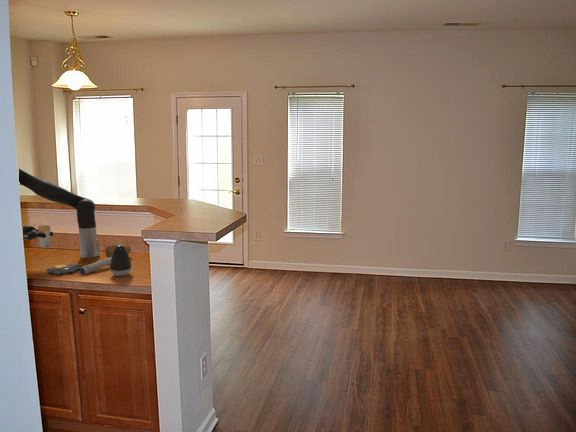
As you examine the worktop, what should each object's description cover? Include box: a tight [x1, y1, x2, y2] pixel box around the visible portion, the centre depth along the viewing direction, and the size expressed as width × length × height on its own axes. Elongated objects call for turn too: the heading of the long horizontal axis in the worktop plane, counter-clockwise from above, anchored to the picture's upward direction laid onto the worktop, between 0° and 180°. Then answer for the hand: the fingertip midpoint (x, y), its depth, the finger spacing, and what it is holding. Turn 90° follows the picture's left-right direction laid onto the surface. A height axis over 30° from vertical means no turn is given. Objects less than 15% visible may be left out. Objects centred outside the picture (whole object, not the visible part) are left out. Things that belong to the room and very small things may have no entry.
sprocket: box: [46, 263, 83, 277], centre depth 249 cm, size 17×17×2 cm
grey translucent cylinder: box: [37, 224, 53, 248], centre depth 253 cm, size 4×4×11 cm
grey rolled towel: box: [78, 257, 111, 276], centre depth 252 cm, size 5×7×25 cm
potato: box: [105, 243, 132, 258], centre depth 272 cm, size 9×16×9 cm, turn 144°
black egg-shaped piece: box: [109, 245, 132, 277], centre depth 241 cm, size 10×10×15 cm
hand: (48, 234), depth 252 cm, fingers closed on grey translucent cylinder, 4 cm apart
